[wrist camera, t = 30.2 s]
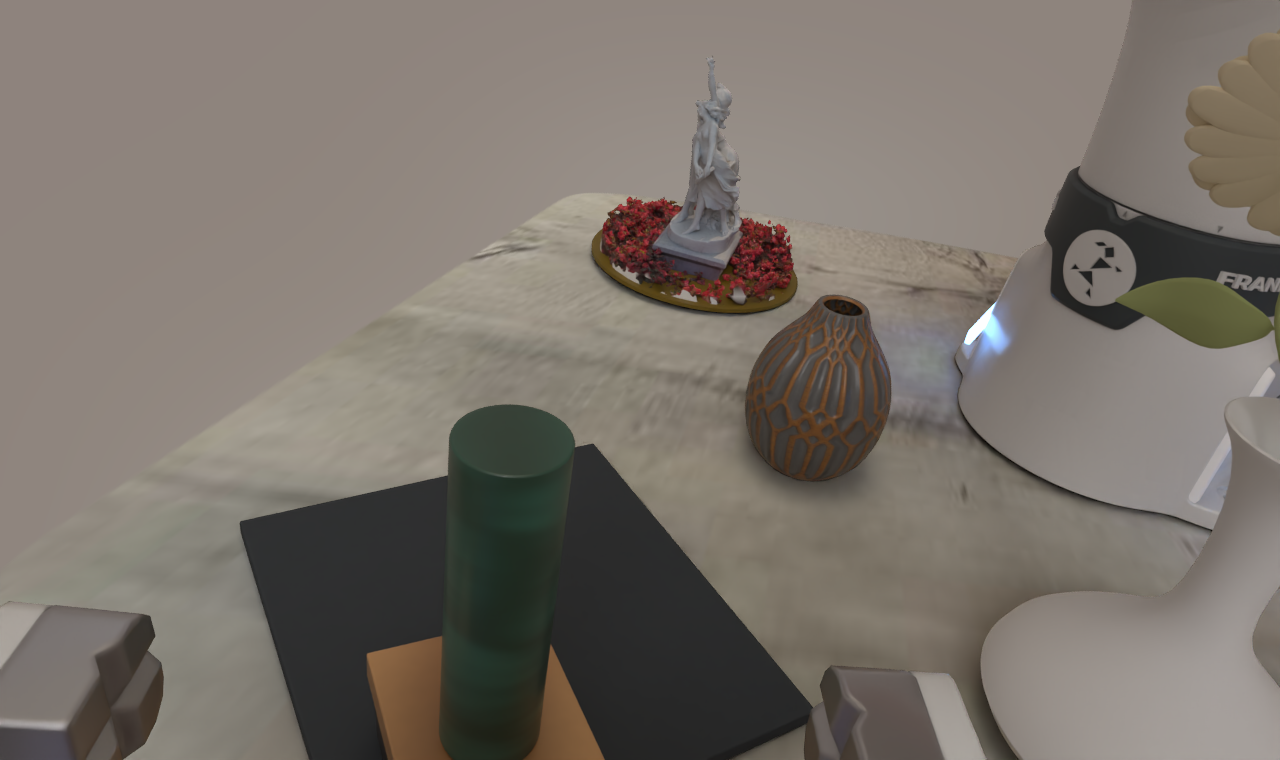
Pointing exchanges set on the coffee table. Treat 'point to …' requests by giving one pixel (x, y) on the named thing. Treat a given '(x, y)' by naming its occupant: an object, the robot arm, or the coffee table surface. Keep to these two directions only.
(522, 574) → the green pillar on base
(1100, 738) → the flower in vase
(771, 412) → the vase
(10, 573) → the coffee table surface
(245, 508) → the coffee table surface
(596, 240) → the figurine
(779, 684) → the mat
